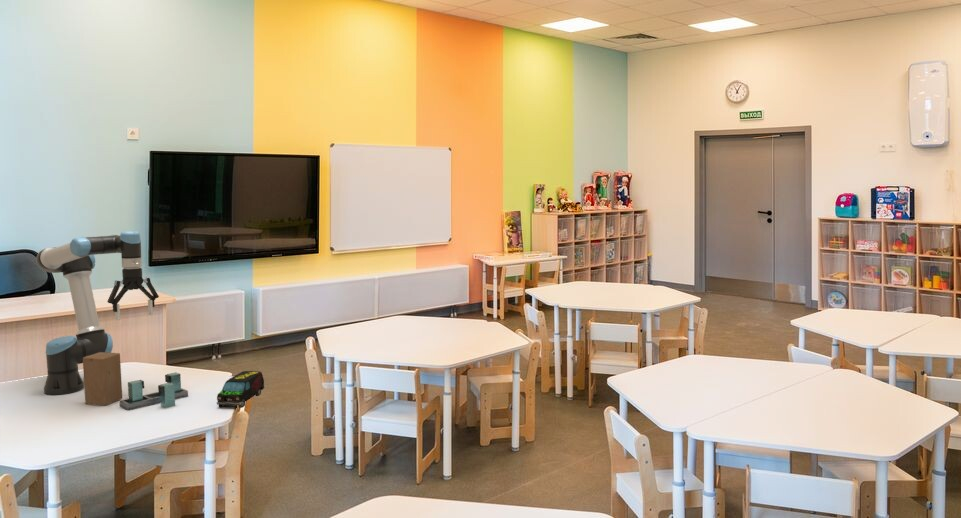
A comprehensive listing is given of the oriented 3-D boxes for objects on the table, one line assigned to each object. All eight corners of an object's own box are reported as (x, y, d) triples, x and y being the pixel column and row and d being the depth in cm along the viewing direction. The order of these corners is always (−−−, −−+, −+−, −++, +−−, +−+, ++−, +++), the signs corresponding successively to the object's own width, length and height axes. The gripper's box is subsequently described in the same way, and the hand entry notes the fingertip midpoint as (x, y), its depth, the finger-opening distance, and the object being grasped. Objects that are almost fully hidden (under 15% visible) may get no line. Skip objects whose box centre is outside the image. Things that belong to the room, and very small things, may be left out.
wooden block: (105, 405, 283) (103, 358, 281) (84, 404, 285) (82, 357, 283) (122, 398, 293) (120, 352, 291) (102, 397, 295) (99, 351, 293)
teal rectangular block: (128, 403, 283) (127, 382, 282) (141, 400, 287) (140, 379, 286) (133, 405, 281) (131, 383, 280) (145, 402, 284) (144, 381, 284)
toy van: (215, 408, 280) (214, 385, 279) (242, 391, 305) (241, 369, 304) (240, 409, 279) (239, 385, 278) (265, 391, 303) (265, 369, 302)
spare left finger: (158, 406, 283) (157, 385, 282) (170, 403, 286) (169, 382, 286) (163, 408, 280) (162, 386, 279) (175, 405, 284) (174, 384, 283)
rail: (119, 406, 282) (118, 382, 281) (179, 392, 301) (178, 370, 300) (128, 410, 277) (126, 386, 276) (188, 396, 296) (187, 373, 295)
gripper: (104, 271, 279) (107, 322, 281) (165, 266, 298) (167, 314, 300) (97, 269, 284) (99, 320, 286) (157, 264, 303) (159, 312, 305)
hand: (134, 317), depth 293 cm, fingers open, 13 cm apart
